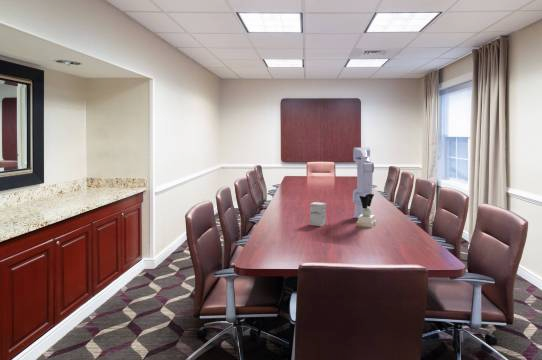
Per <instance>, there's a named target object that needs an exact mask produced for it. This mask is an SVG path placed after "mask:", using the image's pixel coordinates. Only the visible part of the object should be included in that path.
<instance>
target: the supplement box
mask: <svg viewBox="0 0 542 360" xmlns="http://www.w3.org/2000/svg"><path fill="white" fill-rule="evenodd" d="M309 209H310V210H309V225H310V226H317V227H323V226H325V225H326V220H327V218H326V217H327V216H326V215H327V214H326V212H327V202H317V201H314V202H313V201H312V202H311V203H310V207H309Z"/></svg>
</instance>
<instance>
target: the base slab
mask: <svg viewBox="0 0 542 360" xmlns="http://www.w3.org/2000/svg"><path fill="white" fill-rule="evenodd" d="M376 225H377V220H376V219H374V221H373V222H372V223H367V222H358V220H357V221H356V227H363V228H370V229H371V228H374V227H375V226H376Z"/></svg>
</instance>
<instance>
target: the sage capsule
mask: <svg viewBox="0 0 542 360" xmlns="http://www.w3.org/2000/svg"><path fill="white" fill-rule="evenodd" d="M371 212H372V209H371V208H370V207H369V208H367V209H365V208H363V216H366V217H369V216H371V215H372V213H371Z"/></svg>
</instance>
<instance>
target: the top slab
mask: <svg viewBox="0 0 542 360" xmlns="http://www.w3.org/2000/svg"><path fill="white" fill-rule="evenodd" d="M375 217H376V216H375V215H374V214H371V216H369V217H366V216H363V214H361V215H360V216H358V218H357V221H358V222H367V223H372V222H373V221H374V220H376V219H375Z"/></svg>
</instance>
